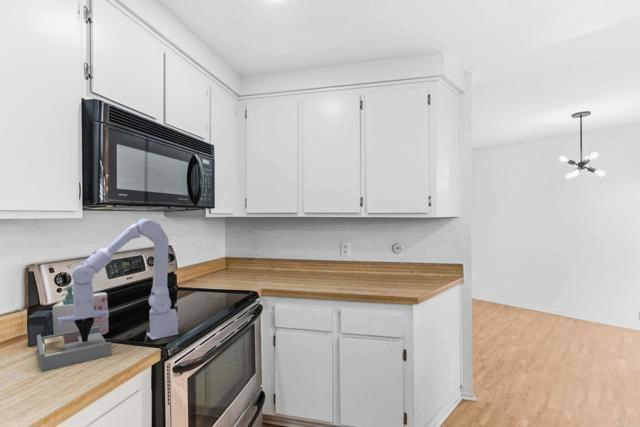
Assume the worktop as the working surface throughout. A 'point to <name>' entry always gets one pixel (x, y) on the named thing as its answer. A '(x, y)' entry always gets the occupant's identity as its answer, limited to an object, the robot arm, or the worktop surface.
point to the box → (39, 326)
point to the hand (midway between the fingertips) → (84, 341)
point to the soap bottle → (64, 313)
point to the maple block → (54, 345)
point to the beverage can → (99, 304)
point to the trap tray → (73, 349)
